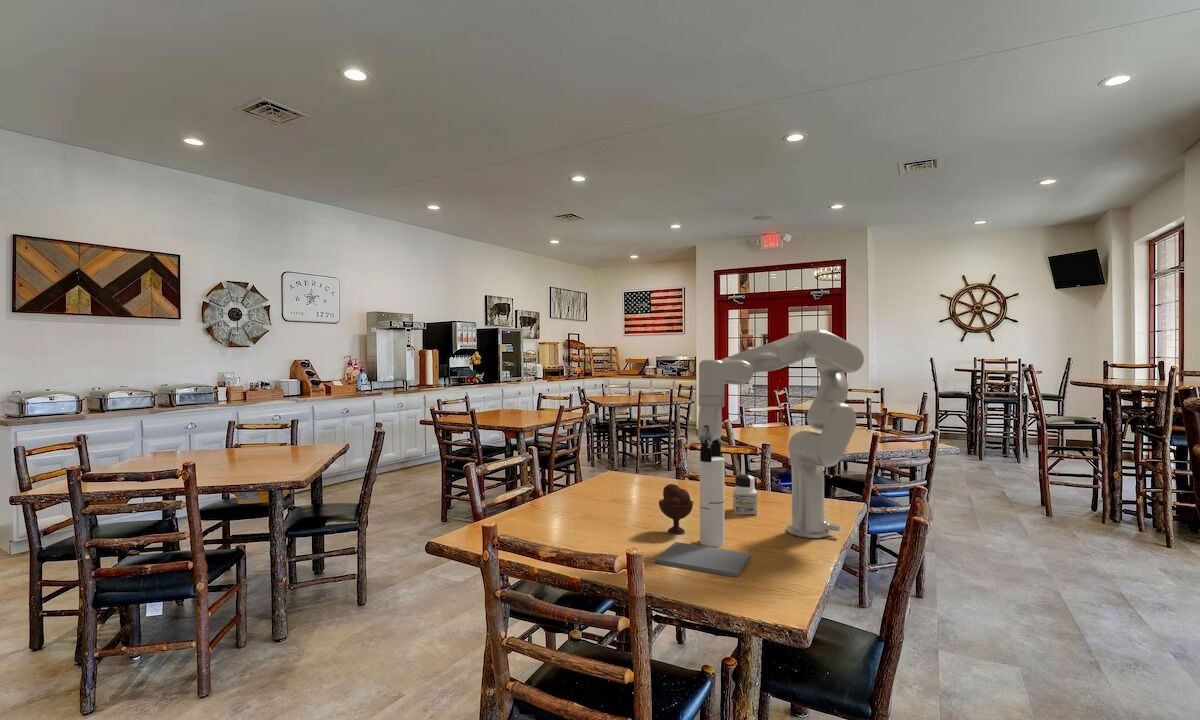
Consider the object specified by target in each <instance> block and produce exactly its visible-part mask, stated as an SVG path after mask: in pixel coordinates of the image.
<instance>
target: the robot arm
mask: <svg viewBox="0 0 1200 720" xmlns="http://www.w3.org/2000/svg"><path fill="white" fill-rule="evenodd" d="M809 358H814V363H815V366H816V368H817V370H818V372H819V377H820V384H819V387H818V389H817V392H816V395H815V397H814V399H813V401H812V403H811V405H810V407H809V409H808V411H807V414H806V423H807V425H809V427H810V428H812V429H814V430H817V431H820V432H821V433H819V432H815V431H810V430H809V431H808V430H800V431H796V433H794V434H793V435H792V436H790V439H789V442H788V454H789V459H790V464H791V523H790V524H788V525H787V526H786V531H787V532H788V533H789V534H791V535H793V536H797V537H800V538H808V539H822V538H823V537H824V538H827V537H828V536H830V534H831V532H830V531H834V532H840V530H841V527H840V526H841V525H840V524H837V523H836V522H828V521H827V517H825V474H824V468H831V467H834V466H836V465H837V464H838V463H839V462H840V461H841V459H842V458H843V456H844V453H845V451H846V450H847V447H848V445H849V443H850V441H851V440H852V439H851V438H852V436H853V434H854V432H855V428H856V426H857V413H856V411H855V410H854V408H853V407H852V406H851V405H849V404H847V403H845V401H846V399H847V397H848V393H849V384H848V383H849V382H848V380H847V377H846V374H852V373H856V372H857V371H859V370H861V368H862V367H863V365H864V362H865V358H864V353H863V352H862V350H861V348H859V347H858V346H857V345H855V344H853V343H852V342H850V341H847V340H846V339H844V338H842V337H840V336H838V335H836V334H834V333H832V332H829V331H827V330H824V329H811V330H802V331H801V330H800V331H798V332H795V333H792V334H789V335H787V336H785V337H783V338H780V339H777V340H774V341H772V342H768V343H766V344H762V345H760V346H757V347H754V348H751V349H747V350H744V351H741V352H738V353H734V354H733V355H730V356H727V357H723V358H722V359H703V360H701V361H700V362H699V363H698V364H699V365H698V407H699V412H698V422H697V423H698V424H697V439H698V440H700V441H699V442H700V444H699V445H700V446H699V447H700V454H699V462H700V461H701V462H711V461H712V456H714V457H721V456H722V455H721V453H722V452H721V451H722V447H721V446H722V444H721V443H722V440H721V439H722V438H721V437H722V434H723V433H722V432H723V414H722V411H723V410H722V408H724V407H725V385H726V384H728V385H736V386H741V385H744V384H745V385H746V384H747V383H749V382H750V381H751V379H753V375H754V373H762V372H771V371H772V372H774V371H776V370H781V369H784V368H785V367H789V366H790V365H792V364H795V363H798V362H801V361H803V360H806V359H809ZM845 373H846V374H845ZM823 467H824V468H823Z"/></svg>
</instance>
